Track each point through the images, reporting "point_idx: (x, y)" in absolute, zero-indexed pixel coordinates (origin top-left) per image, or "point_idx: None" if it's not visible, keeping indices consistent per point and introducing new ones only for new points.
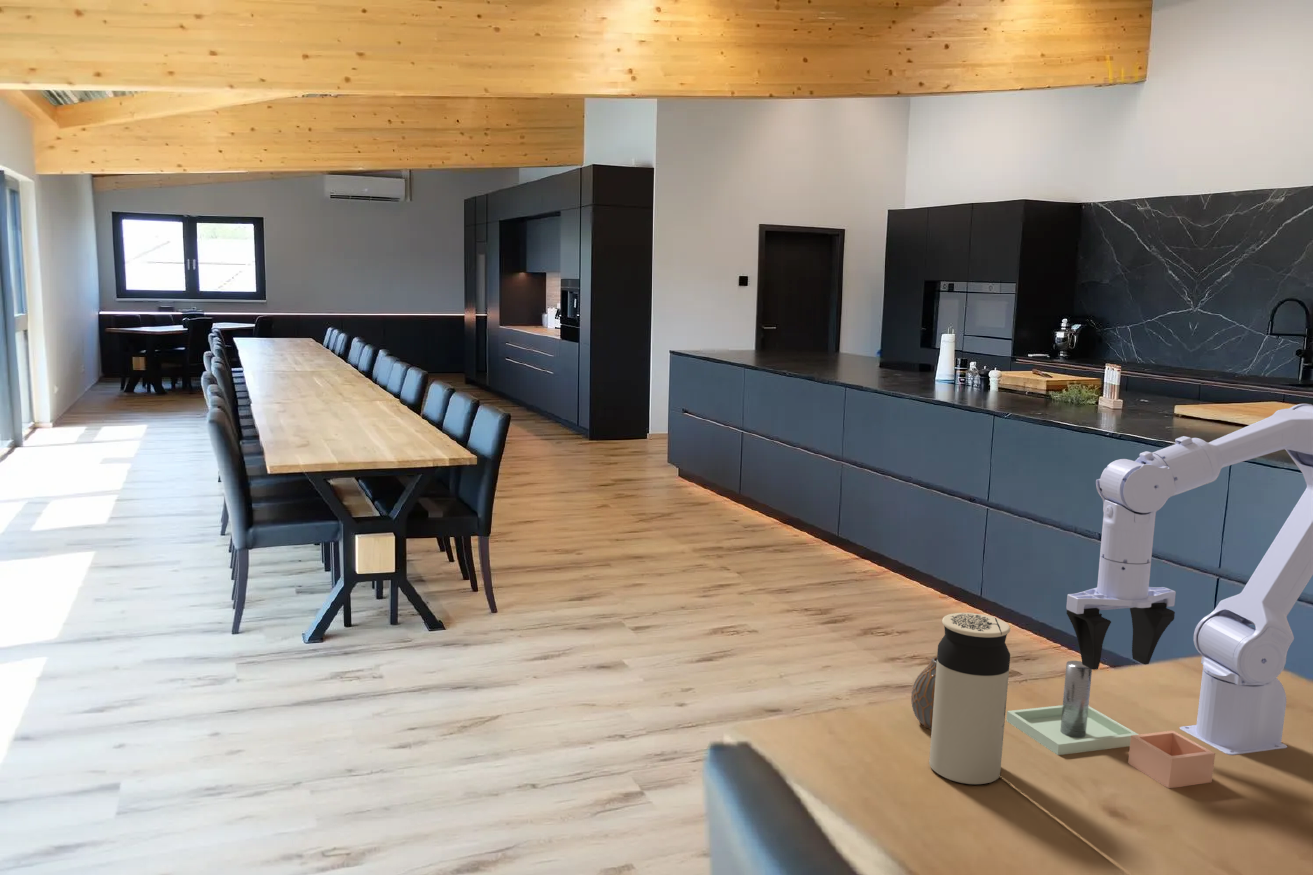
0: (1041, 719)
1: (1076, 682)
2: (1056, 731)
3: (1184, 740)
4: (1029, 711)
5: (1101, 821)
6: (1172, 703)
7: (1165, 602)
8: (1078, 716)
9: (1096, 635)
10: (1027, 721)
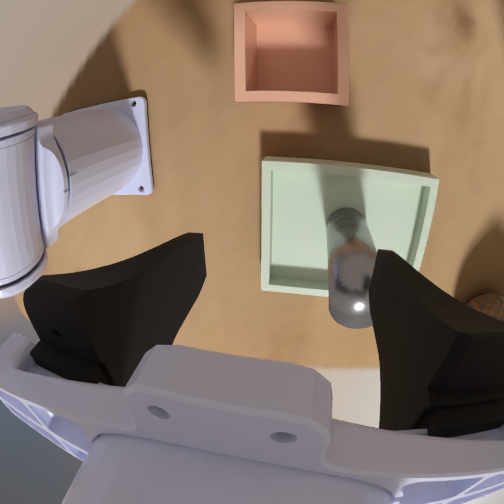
0: None
1: None
2: None
3: (246, 61)
4: None
5: (490, 21)
6: None
7: (31, 359)
8: (362, 225)
9: (465, 306)
10: (413, 265)
